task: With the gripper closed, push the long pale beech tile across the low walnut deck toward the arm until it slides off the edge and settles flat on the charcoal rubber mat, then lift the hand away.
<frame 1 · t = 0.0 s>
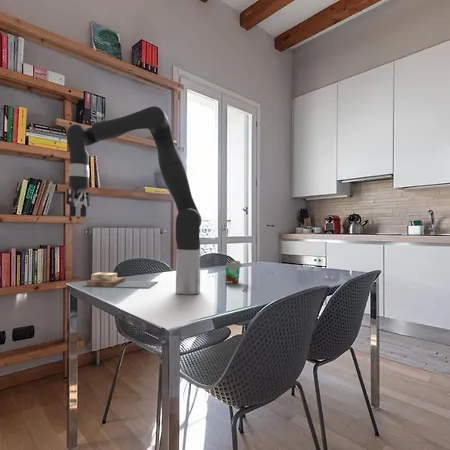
hand: (78, 216, 132), 29 cm above the table, fingers open, 8 cm apart
food container: (234, 283, 153), on the table
walnut deck: (106, 283, 144), on the table
charcoal mat: (137, 284, 144), on the table
beech tile: (104, 279, 144), point 2 cm above the table, touching walnut deck
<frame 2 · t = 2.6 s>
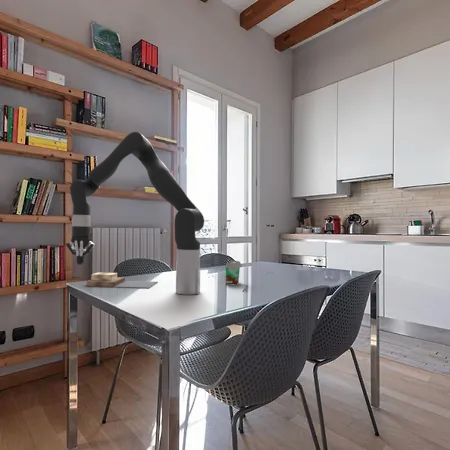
hand: (80, 264, 145), 8 cm above the table, fingers closed
nothing on the table moved.
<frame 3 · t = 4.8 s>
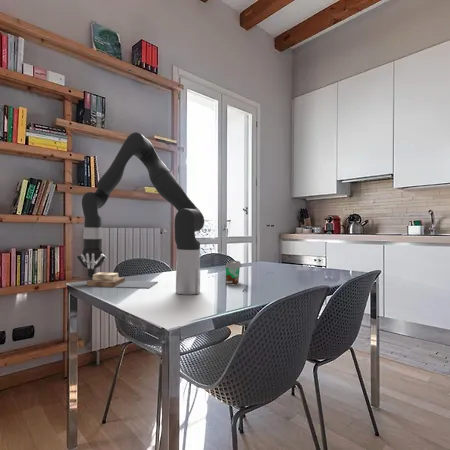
hand: (91, 277, 144), 3 cm above the table, fingers closed
beech tile: (105, 279, 144), point 2 cm above the table, touching gripper, walnut deck
everything else where it was.
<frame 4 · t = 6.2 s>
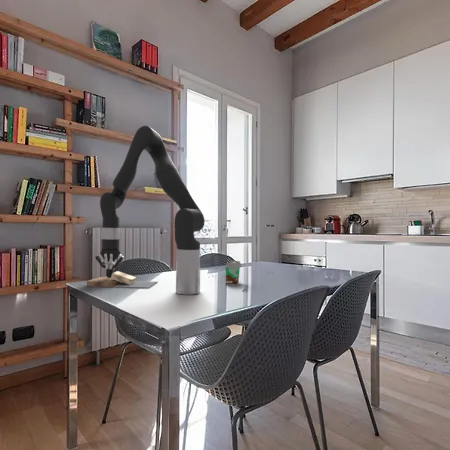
hand: (109, 277, 144), 3 cm above the table, fingers closed
beech tile: (122, 280, 144), point 2 cm above the table, tilted 17°, touching charcoal mat, walnut deck
everything else where it was.
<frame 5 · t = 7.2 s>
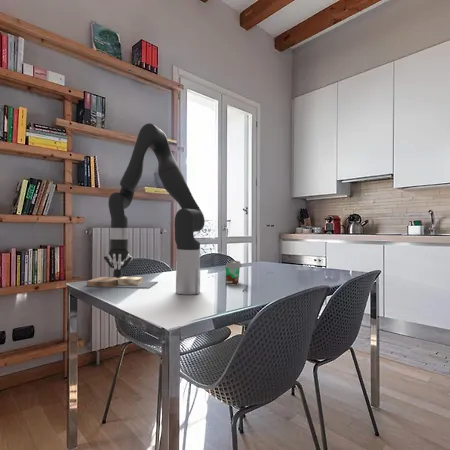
hand: (118, 277, 144), 3 cm above the table, fingers closed
beech tile: (130, 283, 144), resting on charcoal mat
everything else where it was.
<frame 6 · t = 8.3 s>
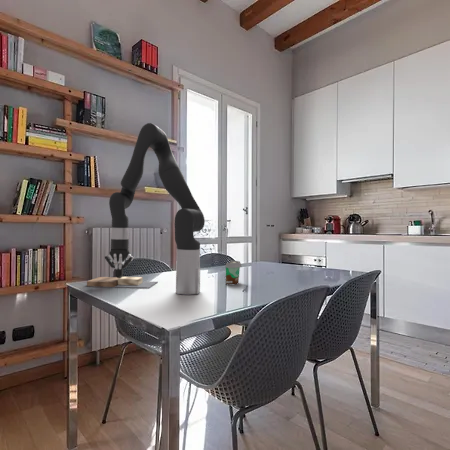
hand: (119, 277, 144), 3 cm above the table, fingers closed
nothing on the table moved.
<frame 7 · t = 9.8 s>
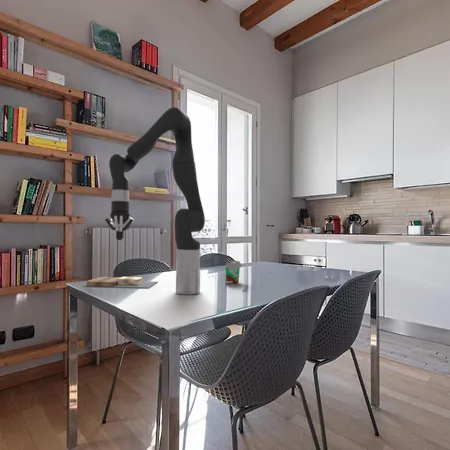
hand: (119, 239, 144), 19 cm above the table, fingers closed
nothing on the table moved.
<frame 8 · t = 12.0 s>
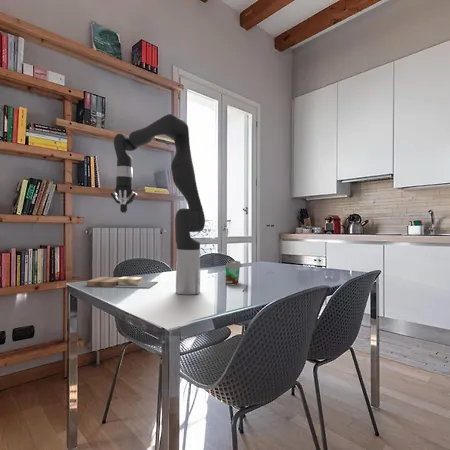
hand: (123, 212, 158), 32 cm above the table, fingers closed
nothing on the table moved.
at the end: beech tile resting on charcoal mat; beech tile inside the target area on the charcoal mat (3.1 cm from its centre), point 0.4 cm above the charcoal mat's base; beech tile tilted 0° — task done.
